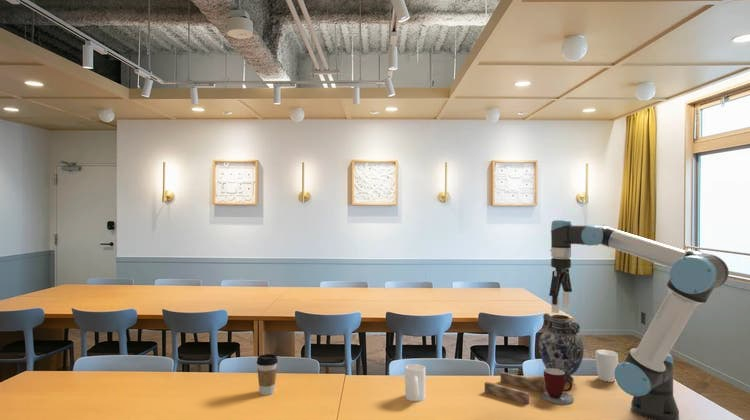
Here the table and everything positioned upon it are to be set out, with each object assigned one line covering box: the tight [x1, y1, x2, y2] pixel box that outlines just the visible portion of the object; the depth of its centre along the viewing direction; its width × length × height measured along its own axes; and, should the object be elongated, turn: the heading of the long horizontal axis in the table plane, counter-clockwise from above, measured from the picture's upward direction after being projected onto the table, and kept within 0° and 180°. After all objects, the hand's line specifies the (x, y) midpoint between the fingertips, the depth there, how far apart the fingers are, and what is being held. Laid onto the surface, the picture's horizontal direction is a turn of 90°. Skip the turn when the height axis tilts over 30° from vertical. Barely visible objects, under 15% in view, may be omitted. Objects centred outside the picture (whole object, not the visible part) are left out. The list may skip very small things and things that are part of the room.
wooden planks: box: [484, 371, 544, 405], centre depth 187 cm, size 18×17×4 cm
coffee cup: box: [256, 353, 278, 396], centre depth 185 cm, size 8×8×15 cm
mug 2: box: [543, 368, 573, 398], centre depth 181 cm, size 11×8×10 cm
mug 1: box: [404, 363, 426, 402], centre depth 179 cm, size 8×12×12 cm
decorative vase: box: [538, 313, 585, 384], centre depth 202 cm, size 21×19×28 cm
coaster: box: [541, 391, 575, 406], centre depth 180 cm, size 12×12×1 cm
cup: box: [594, 349, 619, 383], centre depth 202 cm, size 9×9×12 cm
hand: (560, 310), depth 184 cm, fingers open, 13 cm apart
